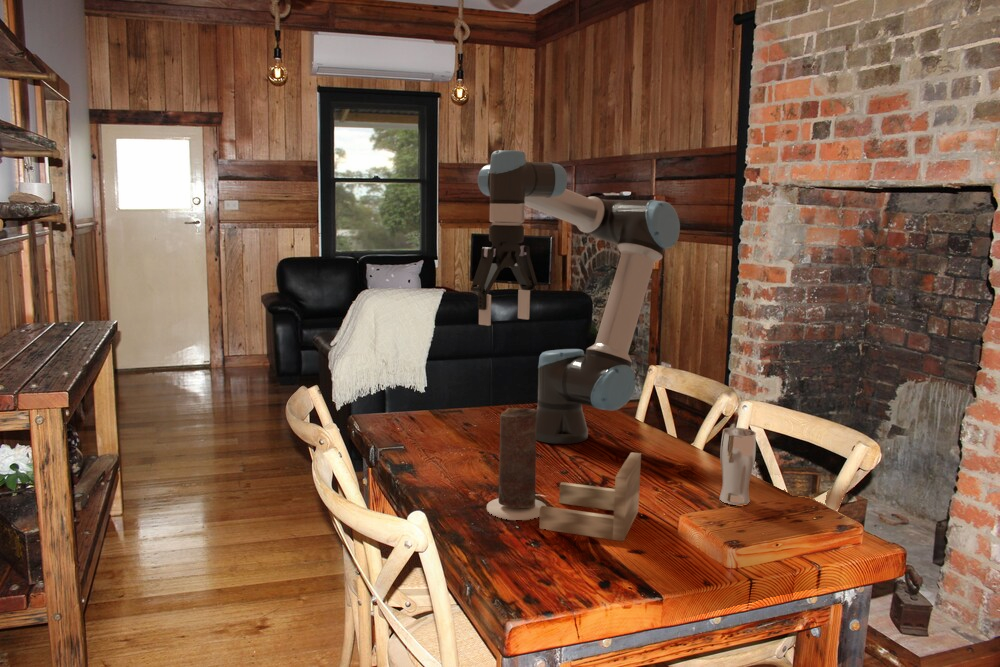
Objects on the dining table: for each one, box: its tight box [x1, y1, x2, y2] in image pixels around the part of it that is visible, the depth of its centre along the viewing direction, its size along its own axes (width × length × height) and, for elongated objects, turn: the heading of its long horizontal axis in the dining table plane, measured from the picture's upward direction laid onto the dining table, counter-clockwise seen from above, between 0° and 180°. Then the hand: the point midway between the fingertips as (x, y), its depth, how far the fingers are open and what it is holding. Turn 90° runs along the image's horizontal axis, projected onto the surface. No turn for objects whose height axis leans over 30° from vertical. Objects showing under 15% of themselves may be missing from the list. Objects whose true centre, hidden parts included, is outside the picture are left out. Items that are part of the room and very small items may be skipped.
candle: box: [498, 407, 537, 508], centre depth 164 cm, size 8×7×20 cm
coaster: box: [486, 497, 547, 521], centre depth 166 cm, size 12×12×1 cm
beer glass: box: [719, 427, 757, 505], centre depth 172 cm, size 7×7×15 cm
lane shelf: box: [538, 451, 642, 542], centre depth 160 cm, size 16×16×12 cm
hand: (504, 321), depth 182 cm, fingers open, 13 cm apart
